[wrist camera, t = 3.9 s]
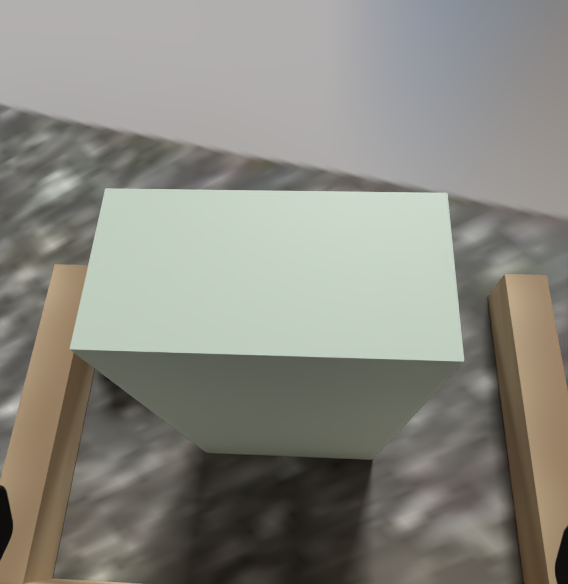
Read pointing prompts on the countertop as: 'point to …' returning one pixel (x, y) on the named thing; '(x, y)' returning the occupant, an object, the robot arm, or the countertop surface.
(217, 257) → the pale green rectangular pillar
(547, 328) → the wooden u-shaped frame
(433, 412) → the countertop surface
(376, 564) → the countertop surface
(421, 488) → the countertop surface
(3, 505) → the robot arm
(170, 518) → the countertop surface
